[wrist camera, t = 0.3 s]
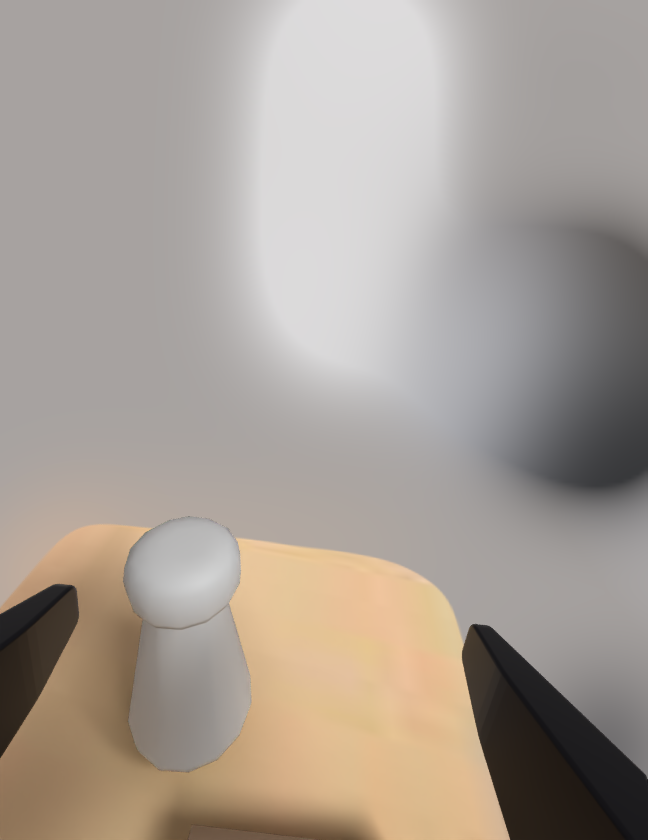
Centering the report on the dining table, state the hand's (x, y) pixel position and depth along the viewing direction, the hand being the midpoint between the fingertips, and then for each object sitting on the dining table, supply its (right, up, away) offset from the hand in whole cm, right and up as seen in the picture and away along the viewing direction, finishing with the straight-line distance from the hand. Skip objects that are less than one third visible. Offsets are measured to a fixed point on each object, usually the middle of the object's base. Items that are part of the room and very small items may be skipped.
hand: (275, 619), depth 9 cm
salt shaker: (-6, -12, +12) cm, 18 cm away
